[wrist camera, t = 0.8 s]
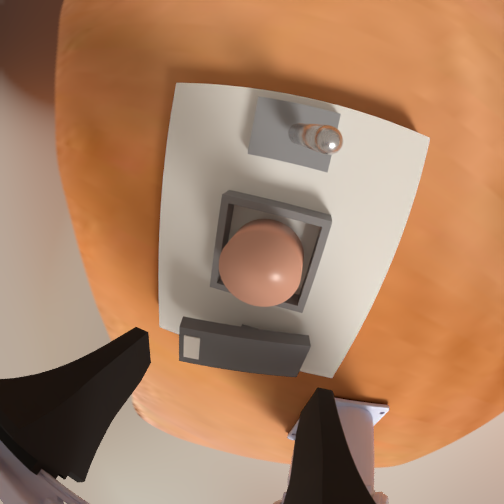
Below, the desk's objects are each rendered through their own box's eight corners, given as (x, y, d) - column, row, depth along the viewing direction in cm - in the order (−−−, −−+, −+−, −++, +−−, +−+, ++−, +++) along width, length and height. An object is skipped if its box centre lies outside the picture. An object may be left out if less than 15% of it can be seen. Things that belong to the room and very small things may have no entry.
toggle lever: (304, 145, 12) (344, 160, 8) (283, 141, 12) (316, 153, 8) (308, 125, 11) (351, 130, 7) (288, 120, 11) (322, 122, 7)
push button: (293, 294, 15) (289, 315, 13) (226, 275, 16) (214, 293, 14) (312, 229, 13) (311, 244, 12) (236, 210, 14) (224, 222, 12)
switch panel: (332, 364, 20) (331, 389, 17) (168, 316, 22) (152, 336, 19) (420, 137, 12) (439, 138, 10) (188, 86, 14) (165, 79, 11)
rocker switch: (295, 366, 18) (296, 377, 17) (182, 350, 17) (178, 361, 17) (308, 335, 17) (311, 347, 16) (183, 316, 16) (179, 327, 15)
